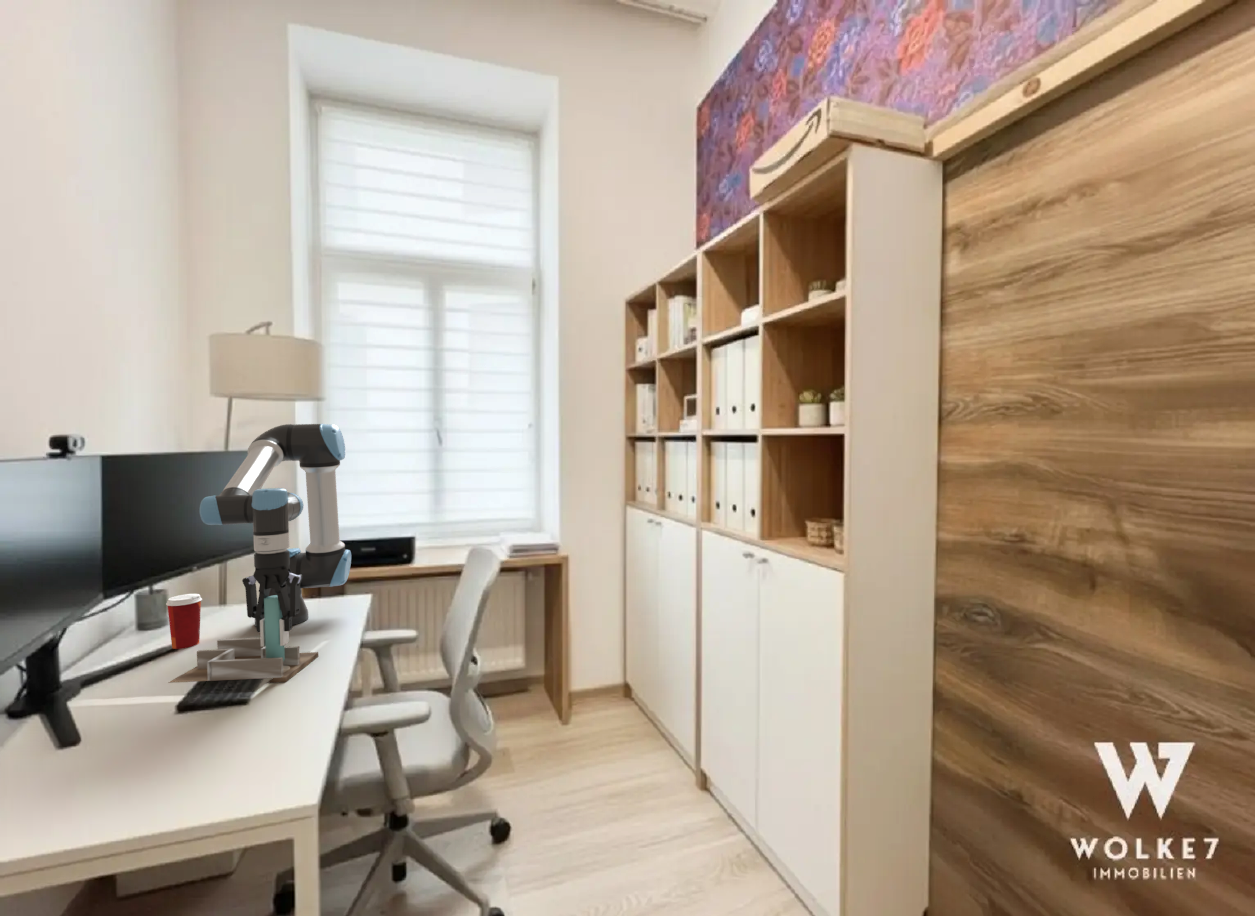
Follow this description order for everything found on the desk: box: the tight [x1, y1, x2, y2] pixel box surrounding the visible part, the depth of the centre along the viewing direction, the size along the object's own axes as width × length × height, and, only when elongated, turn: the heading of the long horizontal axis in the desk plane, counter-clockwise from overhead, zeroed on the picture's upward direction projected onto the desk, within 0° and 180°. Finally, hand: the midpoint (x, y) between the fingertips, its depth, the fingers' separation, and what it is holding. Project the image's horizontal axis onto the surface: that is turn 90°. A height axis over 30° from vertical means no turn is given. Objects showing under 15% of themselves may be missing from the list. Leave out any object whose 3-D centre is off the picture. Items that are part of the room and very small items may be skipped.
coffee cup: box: [165, 593, 203, 650], centre depth 164 cm, size 8×8×15 cm
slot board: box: [168, 637, 319, 684], centre depth 147 cm, size 17×27×6 cm, turn 94°
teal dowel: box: [264, 595, 285, 661], centre depth 144 cm, size 4×4×16 cm
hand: (274, 644), depth 144 cm, fingers closed on teal dowel, 4 cm apart
